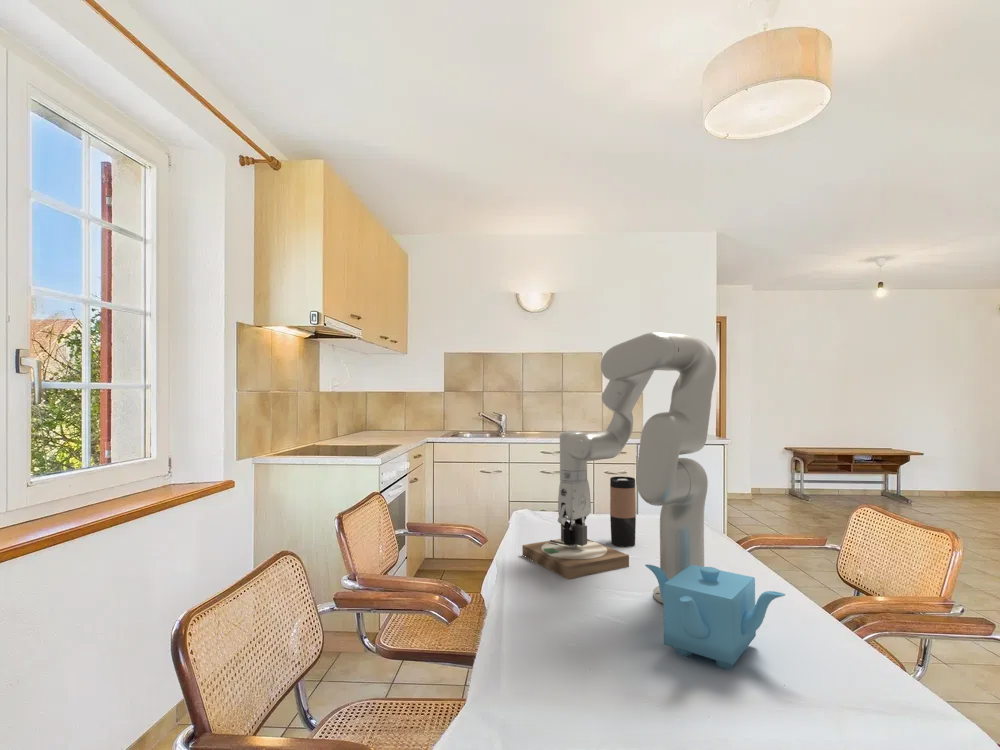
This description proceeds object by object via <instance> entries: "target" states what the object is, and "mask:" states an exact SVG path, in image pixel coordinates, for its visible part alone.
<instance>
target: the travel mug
mask: <svg viewBox="0 0 1000 750" xmlns="http://www.w3.org/2000/svg"><path fill="white" fill-rule="evenodd" d="M609 481H610V482H609V487H610V488H609V489H610V491H609V493H610V495H609V498H610V500H609V504H610V505H609V509H610V510H609V513H610V514H609V515H610V517H609V519H610V520H609V521H610V542H611V545H613V546H615V547H618V548H619V547H621V548H631V547H635V546H636V524H637V521H636V520H637V519H636V517H637V515H636V514H637V513H636V511H637V510H636V504H637V503H636V502H637V501H636V477H635V478H634V477H631V476H612V477H610V479H609Z"/></svg>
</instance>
